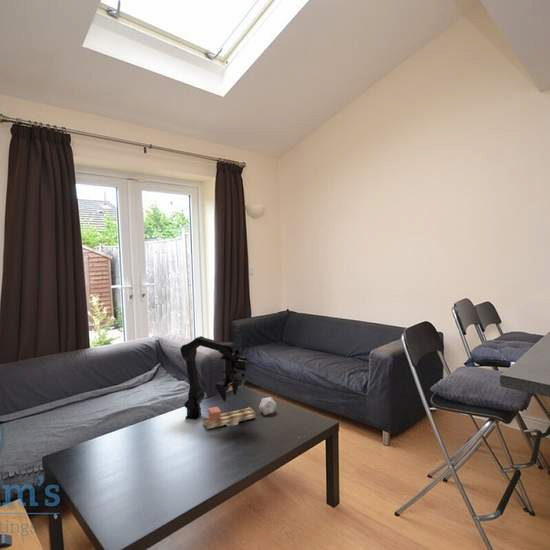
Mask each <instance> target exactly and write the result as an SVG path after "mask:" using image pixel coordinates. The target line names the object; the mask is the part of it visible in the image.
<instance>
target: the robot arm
mask: <svg viewBox="0 0 550 550" xmlns="http://www.w3.org/2000/svg"><path fill="white" fill-rule="evenodd" d="M199 347H204V348H207V349H211V350H214V351H217V352H219V354H220V355H222V356H221V357H219V358H220V360H224V361H223V362H224V363H223V365H224V366H223V368H224V369H222V374H223V375H224V376H223V377H222V381H218V382H216V383H215V384H214V387H213V388H214V390H216V391H217V392H218V393H219V396H220V397H221V399H222V401H223V402H226V401H227V393H228V391H230V389H229V387H230V385H231V388H232V393H233V395H234V396H236V395H237V393H238V390H239V387H241V386H243V385H244V384H245V382H246V381H247V380H248V379H247V377H248V376H247V373H246V372H248V371H249V370H250V368H251V361H250V359H249V356H243V355H242V353H241V352H240V350H239V348H238V345H237V344H236V343H235V342H229V341H228V342H227V341H226V342H221V341H217V340H214V339H210V338H207V337H204V336H197V337H195V338H194V339H193V340H191V341H190V342H188V343H185V344H182V346H181V347H180V355H181V357H182V359H183V360H184V361H185V366H186V371H187V377H188V378H187V379H188V383H189V390H188V393H187V400H186V401H185V402H184V404H183V405H184V408H185V409H186V416H185V419H189V420H198V419H199V418H200V416H201V415H202V407H201V404H202V402H203V400H204V399H205V395H206V394H205V389H204V387H201V386H200V382H199V377H198V370H197V363H196V357H197V351H198V350H197V349H198V348H199ZM239 371H243V373H238V372H239ZM244 371H245V372H244Z"/></svg>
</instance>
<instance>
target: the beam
mask: <svg viewBox="0 0 550 550" xmlns="http://www.w3.org/2000/svg"><path fill="white" fill-rule="evenodd" d="M255 418H256V412H255V411H254V409H252V408H251V407H250V406H248V407H247V408H242V409H239V410H234V411H227V412H225V413H220V419H217V420H213V421H209V416H206V417H203V418H202V423H203V424H204V426H205V428H206V429H207V430H208V429H213V428H217V427H222V426H224V425H225V426H226V427H227V428H229V427H233V426H238V425H239V422H243V421H247V420H250V419H255Z"/></svg>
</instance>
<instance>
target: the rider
mask: <svg viewBox="0 0 550 550" xmlns="http://www.w3.org/2000/svg"><path fill="white" fill-rule="evenodd" d="M207 412H208V417H209V421H213V420H217V419H220V414H222V410H221V409H220V408H219V407H218V406H215V407H210V408H207Z"/></svg>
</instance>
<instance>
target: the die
mask: <svg viewBox="0 0 550 550" xmlns="http://www.w3.org/2000/svg"><path fill="white" fill-rule="evenodd" d="M276 407H277V403H276V402H275V400H274V399H273V398H272V397H271V396H269V397H262V398H261V400H260V403H259V405H258V408H259V410H260V411H261V412H262V414H263V415H264V416H267V415H271V414H274V413H275V409H276Z"/></svg>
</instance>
